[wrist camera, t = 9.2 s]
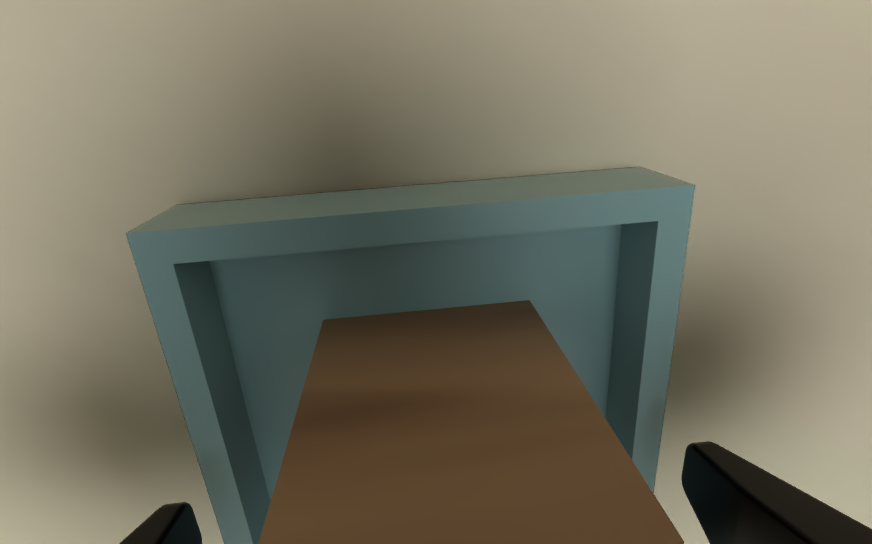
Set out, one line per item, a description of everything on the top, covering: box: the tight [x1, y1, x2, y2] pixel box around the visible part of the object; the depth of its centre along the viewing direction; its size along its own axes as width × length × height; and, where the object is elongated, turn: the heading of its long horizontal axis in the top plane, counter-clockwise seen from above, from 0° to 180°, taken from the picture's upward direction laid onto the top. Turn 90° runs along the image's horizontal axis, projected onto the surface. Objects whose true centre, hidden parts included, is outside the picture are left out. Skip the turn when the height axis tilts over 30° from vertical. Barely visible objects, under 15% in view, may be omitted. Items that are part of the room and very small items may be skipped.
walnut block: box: [259, 300, 684, 544], centre depth 8 cm, size 4×4×6 cm
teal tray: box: [126, 167, 695, 544], centre depth 11 cm, size 10×10×2 cm
